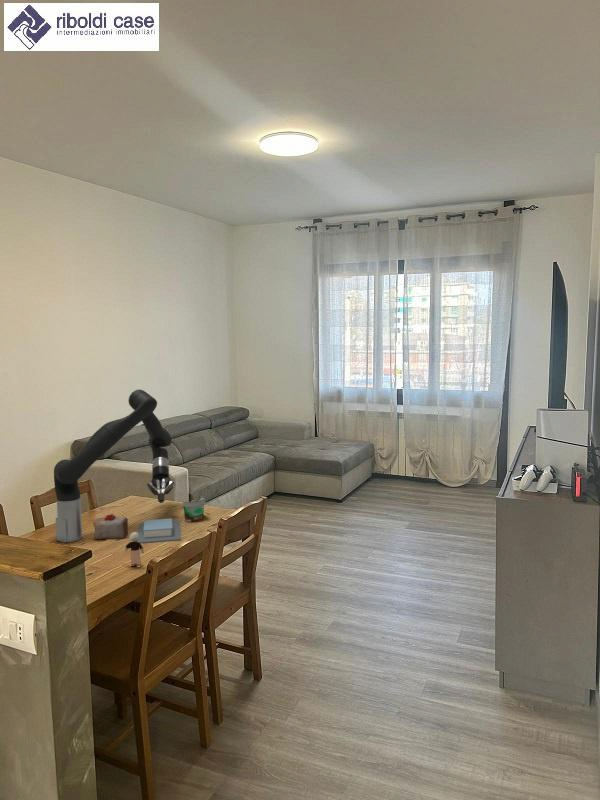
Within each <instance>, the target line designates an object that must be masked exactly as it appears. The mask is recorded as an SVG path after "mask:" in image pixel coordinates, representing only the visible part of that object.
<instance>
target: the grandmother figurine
mask: <svg viewBox="0 0 600 800" xmlns="http://www.w3.org/2000/svg"><path fill="white" fill-rule="evenodd" d="M138 536H139V535H138V531H137V532H136V531H134V532H132V533H131V534H130V535H129V537H128V539H129V540H131V541H130V542H129V543H126V545H125V549H124V551H125V552H128V550H130V563H131V565H130V567H131V566H135V565H136V566H141V567H143V566H144V564H143V563H142V559H141V558H142V557H141V554H145V551H144V547H143V544H140V543H139V542H136V541H137V540H138ZM142 565H143V566H142ZM136 566H135V567H136Z"/></svg>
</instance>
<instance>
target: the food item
mask: <svg viewBox="0 0 600 800" xmlns="http://www.w3.org/2000/svg"><path fill="white" fill-rule="evenodd" d="M92 523H93V527H94V539H95V540H96V539H102V540H110V539H116V540H117V539H119V540H120V539H126V538H127V537H128V535H129V527H128V523H129V522H128V517H121V516H120V517H116V516H115V515H114V513H111V514H106V516H105V517H100V518H96V519H95V520H94V521H93V522H92Z"/></svg>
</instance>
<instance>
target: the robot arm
mask: <svg viewBox="0 0 600 800" xmlns="http://www.w3.org/2000/svg"><path fill="white" fill-rule="evenodd" d="M128 405H129V406H130V407H131V409H132V410H134V411H132V412H131V413H130V414H128V415H126V416H124V417H121V418H118V419H115V420H111V421H109V422H106V423H105V424H103V425H102V426H100V428H99V429H98V430H96V431H95V432H94V433H93V435H92V434H91V435H92V436H91V437H90V438H89V440H88V441H87V442H86V443H85V446H84V447H83V448H82V449H81V451H80V452H78V453H76V455H74V457H72V458H71V459H61V460H59V461H58V462H57V463H56V464H55V466H54V469H53V481H54V493H55V497H56V509H57V510H56V511H57V513H56V514H57V517H55V530H56V531H55V532H56V541H57V540H58V542H60V543H61V542H62V541H63V542H62V543H64V542H65V543H64V544H67V543H72V542H77V541H79V540H81V539H83V521H82V520H83V519H82V504H81V502H82V501H81V491H80V488H79V483H78V482H79V479H81V477H82V476H83V475H84V473H86V472H87V471H88V469H90V468H91V466H92V465H93V464H94V463H95V462H96V461H97V460H99V459H100V458H101V457H103V455H105V454H106V453H107V452H108V451H109V450H110V449H111V448H113V447H114V446H115V445H116V444H117V443H118V442H119V441H120V440H121V439H122V438H123V437H124V436H125V435H127V434H128V433H129V432H130V431H132V429H133V428H135V427H136V426H137V425H138V424H140V423H141V422H142V424H143V426H144V427H145V429H146V432H147V433H148V435H149V438H148V443H149V446H150V449H151V452H152V465H151V466H152V467H151V470H152V471H151V472H152V475H151V476H152V477H151V478H152V479H151V480H150V481H151V482H150V483H146V487H147V490H149V491H150V492H151V494H153V495H154V496H157V502H158V503H160V504H163V503H164V502H165V499H166V498H165V495H169V493H171V491H172V490H173V489H174V488H175V486H176V485H175V484H176V483H175V481H171V478H170V463H169V451H168V450H167V449H166V447H169V446H171V444H172V442H173V441H172V436H171V434H170V432H169V431H167V430H166V429H165V428H164V427H163V426H162V423H161V422H160V420H159V418H158V417H157V416H156V415H155V413H154V411H155V410H156V408H157V406H158V401H157V399H156V398H154V397H153V396H152V395H151V394H149V393H148V392H146V391H145V390H143V389H135V390H134V391H132V392H131V393H130V395H129V397H128ZM66 542H67V543H66Z"/></svg>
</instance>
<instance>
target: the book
mask: <svg viewBox="0 0 600 800" xmlns="http://www.w3.org/2000/svg"><path fill="white" fill-rule="evenodd" d="M173 521H174V519H173V518H172V517H171V518H157V519H156V518H155V519H145V520H144V522H143V523H144V529H143V531H144V539H145V538H158V537H171V536H173Z"/></svg>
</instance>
